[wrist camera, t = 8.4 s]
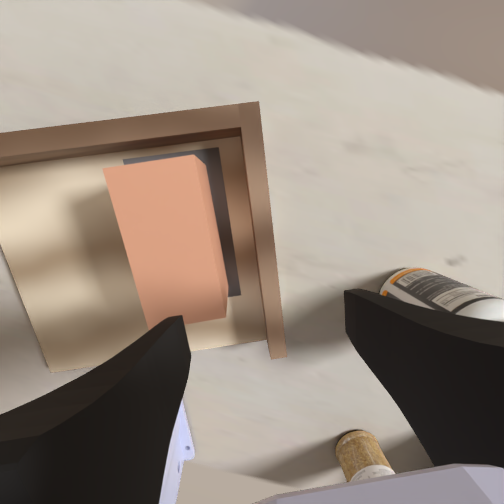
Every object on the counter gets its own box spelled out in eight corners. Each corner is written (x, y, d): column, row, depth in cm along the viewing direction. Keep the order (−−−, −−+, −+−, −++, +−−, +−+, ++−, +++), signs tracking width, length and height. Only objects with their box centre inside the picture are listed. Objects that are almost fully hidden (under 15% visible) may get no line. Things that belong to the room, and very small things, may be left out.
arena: (278, 330, 21) (287, 357, 18) (59, 364, 21) (25, 397, 17) (254, 118, 17) (258, 101, 14) (-21, 153, 17) (-86, 143, 13)
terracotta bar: (140, 175, 17) (102, 168, 12) (205, 165, 17) (193, 154, 12) (171, 295, 19) (148, 330, 14) (228, 285, 19) (226, 317, 14)
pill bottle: (418, 332, 22) (555, 437, 13) (363, 314, 22) (466, 412, 12) (449, 276, 21) (625, 345, 12) (392, 255, 21) (531, 312, 11)
